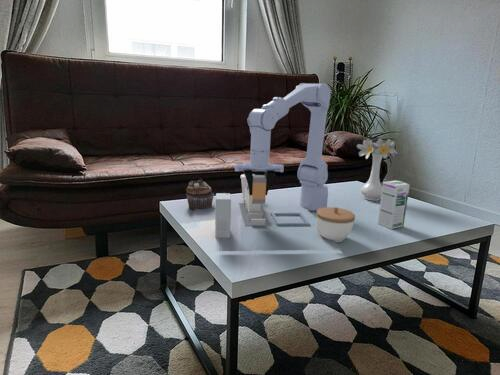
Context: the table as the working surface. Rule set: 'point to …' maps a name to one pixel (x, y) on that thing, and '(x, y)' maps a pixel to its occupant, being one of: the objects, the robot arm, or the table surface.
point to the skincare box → (222, 215)
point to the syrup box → (393, 204)
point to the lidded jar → (334, 223)
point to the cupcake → (199, 195)
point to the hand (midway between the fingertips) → (258, 194)
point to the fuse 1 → (246, 193)
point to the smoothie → (243, 184)
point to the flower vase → (375, 166)
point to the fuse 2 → (252, 206)
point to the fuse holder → (253, 216)
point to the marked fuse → (258, 189)
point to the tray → (290, 223)
